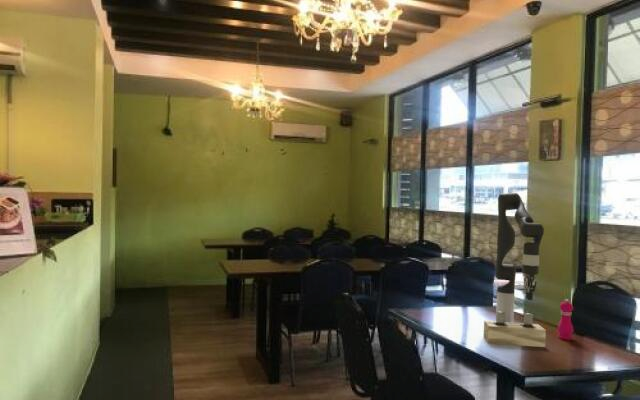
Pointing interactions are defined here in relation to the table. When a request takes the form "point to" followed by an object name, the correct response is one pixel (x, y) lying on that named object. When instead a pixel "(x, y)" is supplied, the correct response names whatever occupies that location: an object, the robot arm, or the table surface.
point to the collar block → (514, 334)
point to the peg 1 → (500, 318)
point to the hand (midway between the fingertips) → (529, 299)
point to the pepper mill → (565, 321)
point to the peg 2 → (528, 320)
